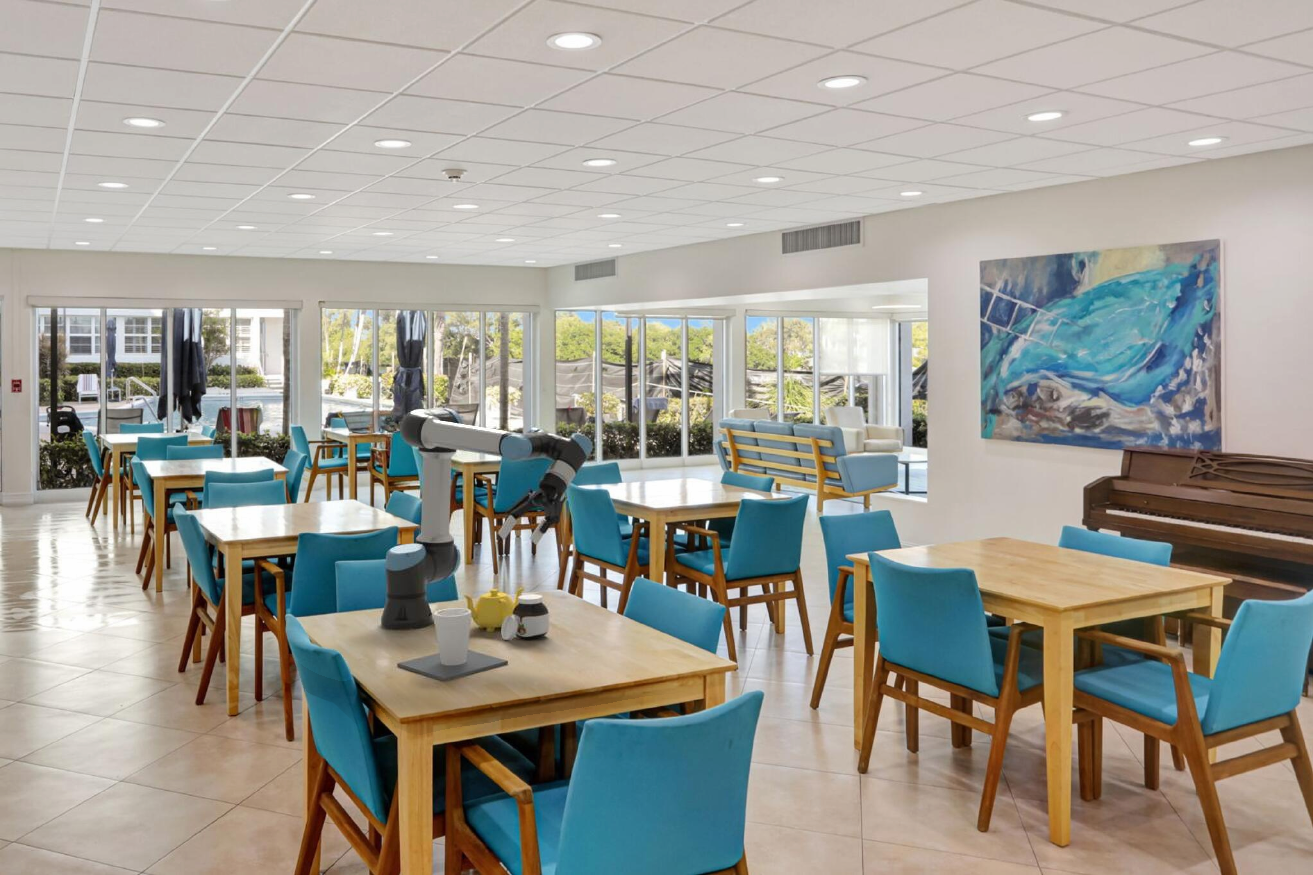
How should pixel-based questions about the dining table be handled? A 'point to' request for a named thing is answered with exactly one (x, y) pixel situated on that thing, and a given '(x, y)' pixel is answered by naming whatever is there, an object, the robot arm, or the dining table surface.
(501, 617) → the teapot
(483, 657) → the rubber mat
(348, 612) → the dining table surface
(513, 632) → the spread jar
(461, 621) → the foam cup
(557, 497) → the robot arm
